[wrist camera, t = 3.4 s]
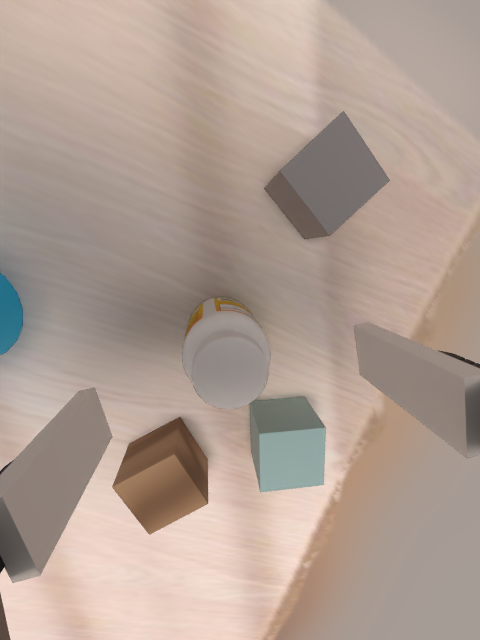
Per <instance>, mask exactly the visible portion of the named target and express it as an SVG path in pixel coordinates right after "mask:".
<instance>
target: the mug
mask: <svg viewBox="0 0 480 640" xmlns="http://www.w3.org/2000/svg"><path fill="white" fill-rule="evenodd" d="M22 326H23V308H22V306H21V303H20V300H19V297H18V294H17V292H16V291H15V289H14V288H13V286H12V285H11V284H10V282H9V281H8V280H7V278H6V277H5V276H3V275H2V274H1V273H0V355H1V354H3V353H5V352H7V351H8V350H9V348H10V347H11V346H12V345H13V344H14V343H15V342H16V341H17V339H18V336H19V334H20V331H21V328H22Z"/></svg>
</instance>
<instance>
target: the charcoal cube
mask: <svg viewBox="0 0 480 640" xmlns="http://www.w3.org/2000/svg"><path fill="white" fill-rule="evenodd" d="M389 181H390V180H389V178H388V177H387V175H386V174H385V172H384V171H383V169H382V168H381V166H380V165H379V163H378V162H377V160H376V159H375V157H374V156H373V154H372V153H371V151H370V150H369V148H368V147H367V145H366V144H365V142H364V141H363V139H362V138H361V136H360V135H359V133H358V132H357V130H356V129H355V127H354V126H353V124H352V123H351V121H350V120H349V118H348V117H347V115H346V114H345V112H344V111H343V112H342V113H341V114H340V115H338V116H337V117H336V118H335V119H334V120H333V121H332V122H331V123H330V124H329V125H328V126H327V127H326V128H325V129H324V130H323V131H322V132H321V133H319V134H318V135H317V136H316V137H315V138H314V139H313V140H312V141H311V142H310V143H309V144H308V145H307V146H306V147H305V148H304V149H303V150H302V151H300V152H299V153H298V154H297V155H296V156H295V157H294V158H293V159H292V160H291V161H290V162H289V163H288V164H287V165H286V166H285V167H284V168H282V169H281V170H280V171H279V173H278V174H277V175H276V176H275V177H274V178H273V179H272V180H271V181H270V182H269V184H268V185H267V186H266V187H265V188H264V189H265V190H266V192H267V193H268V194H269V195H270V197H271V198H272V199H273V200H274V202H275V203H276V204H277V205H278V207H279V208H280V209H281V210H282V212H283V213H284V214H285V215H286V217H287V218H288V219H289V220H290V222H291V223H292V224H293V225H294V227H295V228H296V229H297V230H298V232H299V233H300V234H301V235H302V237H303V238H304V239H310V238H317V237H324V236H330V235H331V234H332V233H333V232H334V231H335V230H336V229H338V228H339V227H340V226H341V225H342V224H343V223H344V222H345V221H346V220H347V219H348V218H350V217H351V216H352V215H353V214H354V213H355V212H356V211H357V210H358V209H359V208H360V207H362V206H363V205H364V204H365V203H366V202H367V201H368V200H369V199H370V198H371V197H373V196H374V195H375V194H376V193H377V192H378V191H379V190H380V189H381V188H382V187H383V186H385V185H386V184H387V183H388V182H389Z"/></svg>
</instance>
